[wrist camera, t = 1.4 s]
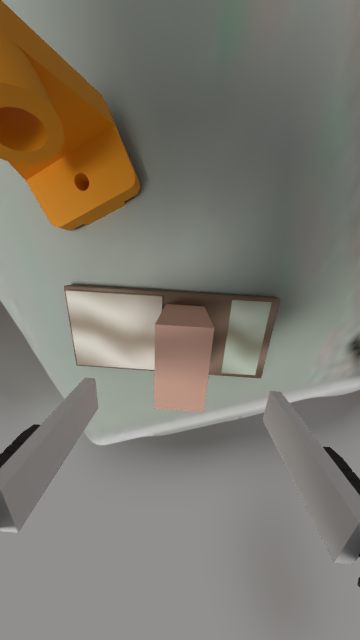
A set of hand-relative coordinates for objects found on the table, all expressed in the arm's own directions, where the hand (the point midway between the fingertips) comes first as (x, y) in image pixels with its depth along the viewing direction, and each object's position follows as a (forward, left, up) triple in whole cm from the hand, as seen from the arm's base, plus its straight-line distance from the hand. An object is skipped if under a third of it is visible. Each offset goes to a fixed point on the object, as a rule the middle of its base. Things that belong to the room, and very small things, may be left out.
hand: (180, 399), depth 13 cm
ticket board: (0, -2, -13) cm, 13 cm away
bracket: (-18, -12, -13) cm, 26 cm away
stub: (0, 0, -11) cm, 11 cm away
